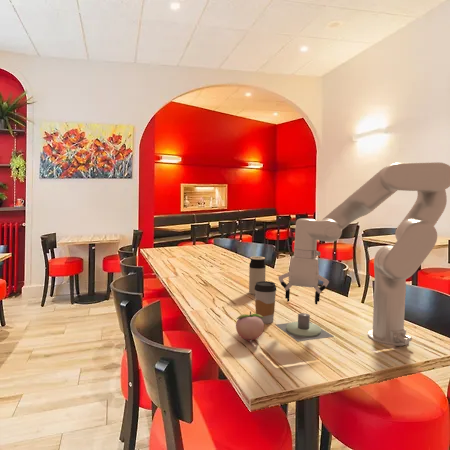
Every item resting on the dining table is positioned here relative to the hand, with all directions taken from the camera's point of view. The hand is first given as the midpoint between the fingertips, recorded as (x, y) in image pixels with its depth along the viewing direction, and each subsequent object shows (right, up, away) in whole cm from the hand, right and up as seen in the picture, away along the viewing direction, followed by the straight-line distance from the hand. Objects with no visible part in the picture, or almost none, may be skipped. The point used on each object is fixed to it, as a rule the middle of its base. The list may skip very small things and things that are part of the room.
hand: (301, 301), depth 124 cm
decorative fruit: (-19, -11, -8) cm, 24 cm away
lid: (+1, -10, +1) cm, 10 cm away
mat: (+1, -11, +1) cm, 11 cm away
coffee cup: (-12, -10, +10) cm, 19 cm away
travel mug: (-11, -7, +51) cm, 53 cm away
